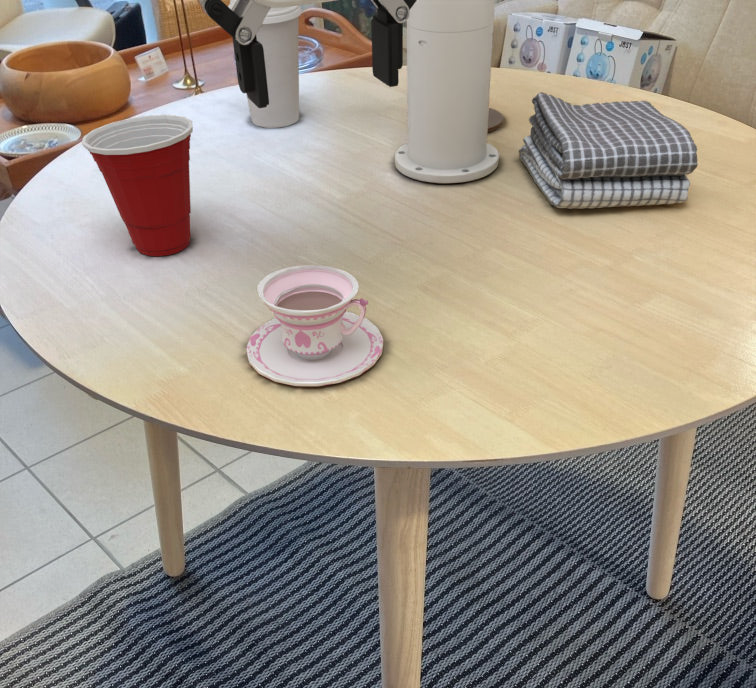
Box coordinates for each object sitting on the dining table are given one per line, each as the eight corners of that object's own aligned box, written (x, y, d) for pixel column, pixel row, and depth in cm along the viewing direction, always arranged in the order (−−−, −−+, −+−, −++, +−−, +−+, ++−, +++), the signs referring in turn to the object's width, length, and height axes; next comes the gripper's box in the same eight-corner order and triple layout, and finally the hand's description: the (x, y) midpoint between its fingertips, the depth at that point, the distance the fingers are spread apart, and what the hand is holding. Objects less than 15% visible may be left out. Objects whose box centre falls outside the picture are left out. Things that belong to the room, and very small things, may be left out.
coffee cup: (307, 131, 114) (297, 3, 103) (236, 133, 114) (218, 6, 104) (312, 106, 121) (303, -16, 110) (245, 108, 121) (229, -13, 111)
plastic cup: (175, 212, 96) (152, 100, 88) (233, 241, 91) (215, 124, 82) (90, 245, 91) (58, 129, 83) (147, 279, 85) (118, 157, 77)
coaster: (416, 115, 117) (416, 111, 116) (483, 104, 119) (483, 100, 119) (445, 140, 110) (446, 135, 109) (516, 128, 112) (516, 123, 112)
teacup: (227, 381, 72) (215, 316, 68) (271, 308, 80) (263, 246, 76) (365, 396, 70) (362, 331, 65) (396, 320, 78) (395, 257, 74)
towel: (556, 220, 92) (564, 146, 87) (516, 155, 105) (521, 88, 100) (692, 209, 93) (709, 135, 88) (636, 146, 106) (647, 79, 101)
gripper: (411, -234, 54) (411, 61, 66) (139, -220, 49) (190, 95, 61) (466, -231, 49) (456, 88, 60) (168, -216, 44) (218, 128, 56)
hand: (323, 91), depth 61 cm, fingers open, 9 cm apart
